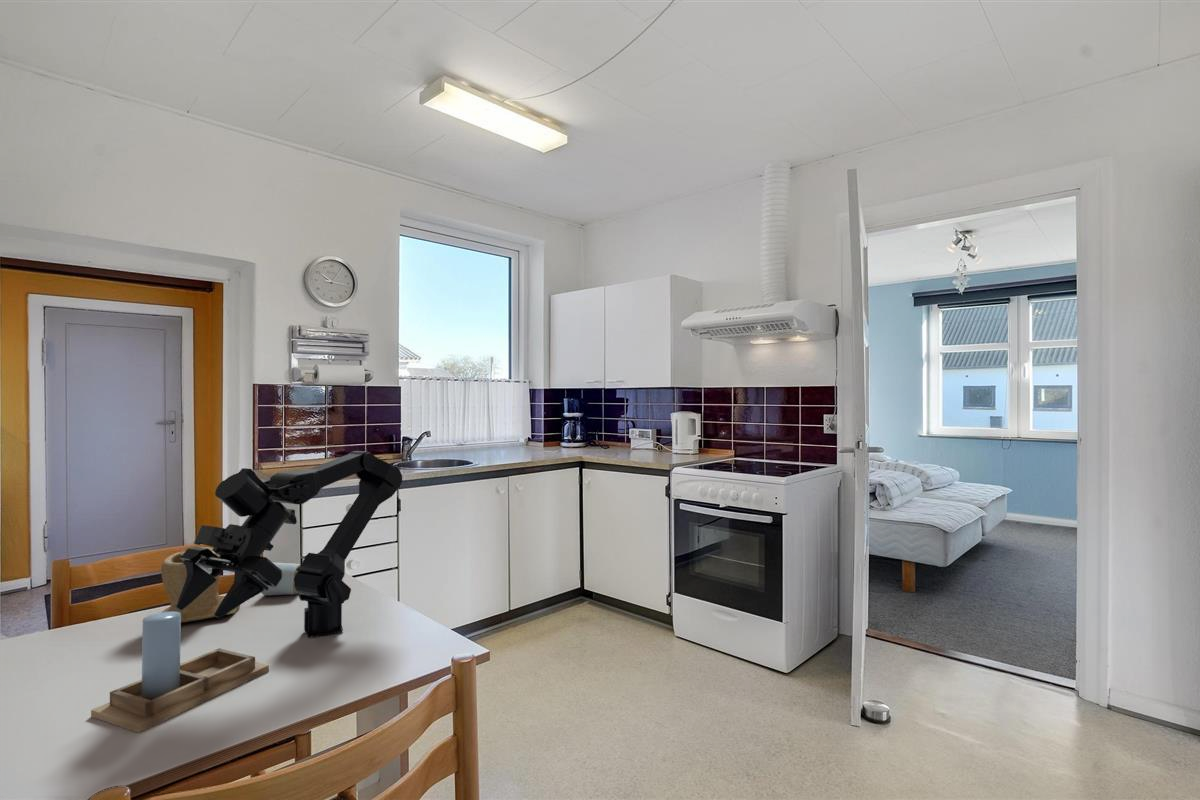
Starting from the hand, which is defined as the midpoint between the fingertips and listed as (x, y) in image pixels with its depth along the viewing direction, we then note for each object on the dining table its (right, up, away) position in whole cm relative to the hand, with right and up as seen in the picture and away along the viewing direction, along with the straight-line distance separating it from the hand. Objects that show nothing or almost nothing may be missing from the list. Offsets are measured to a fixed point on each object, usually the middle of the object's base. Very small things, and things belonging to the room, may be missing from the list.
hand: (197, 612), depth 98 cm
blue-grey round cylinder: (-2, -11, -5) cm, 13 cm away
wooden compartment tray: (-1, -12, -1) cm, 12 cm away
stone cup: (-20, -12, +30) cm, 38 cm away
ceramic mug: (-11, -12, +48) cm, 51 cm away
